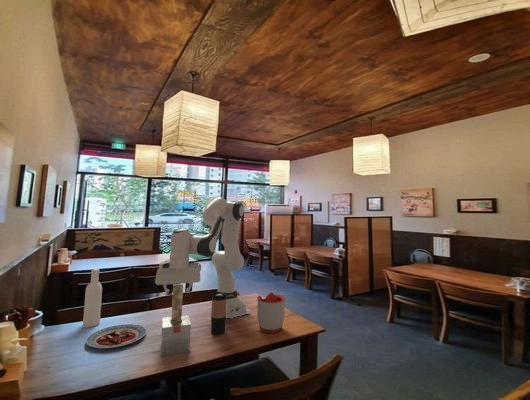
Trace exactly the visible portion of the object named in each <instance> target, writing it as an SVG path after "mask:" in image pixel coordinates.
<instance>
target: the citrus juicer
mask: <svg viewBox="0 0 530 400" xmlns="http://www.w3.org/2000/svg"><path fill="white" fill-rule="evenodd" d="M256 300H257V304H256V305H257V308H256V309H257V311H256V312H257V314H256V315H257V323H258V327H259V330H260V331H261V332H263V333H266V332H268V333H267V334H275V333H274V332H276V333H278V331H279V332H280V331H281V330H282V328H283V325H284V321H285V306H286V305H285V303H286V302H285V301H286V298H285V297H284V296H283V295H281V294H275V293H273V292H272V291H270V292H269V293H268V294H267V295H266V297H265V298H263V297H262V296H261V295H258V296H257V298H256Z"/></svg>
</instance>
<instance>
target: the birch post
mask: <svg viewBox="0 0 530 400" xmlns="http://www.w3.org/2000/svg"><path fill="white" fill-rule="evenodd" d="M183 284H184V283H181V284H172V302H171V303H172V304H171V316H170V317H171V324H172V323H181V322H182V316H183V315H182V314H183V296H184V285H183Z"/></svg>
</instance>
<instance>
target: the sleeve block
mask: <svg viewBox="0 0 530 400" xmlns="http://www.w3.org/2000/svg"><path fill="white" fill-rule="evenodd" d="M171 317H172V316H168V317H167V316H166V317H162V319H161V322H162V324H161V340H160V341H161V343H160V357H165V356H171V355H178V354H183V353H190V352H191V350H190V348H191V332H192V330H191V329H192V323H191V320H190V319H191V318H190V316H189V314H187V315H182V322H181V323H172V324H171Z"/></svg>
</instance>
